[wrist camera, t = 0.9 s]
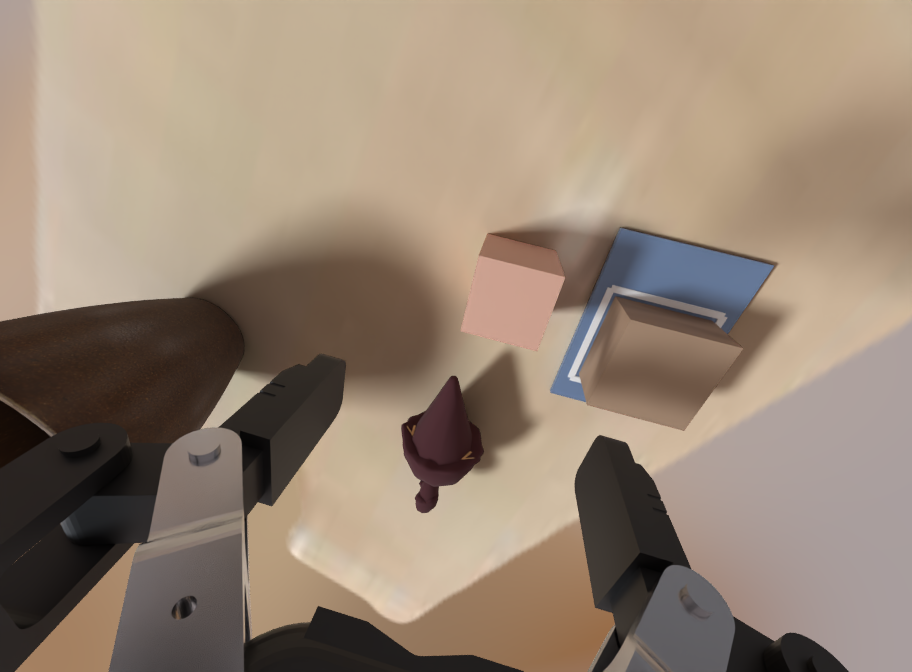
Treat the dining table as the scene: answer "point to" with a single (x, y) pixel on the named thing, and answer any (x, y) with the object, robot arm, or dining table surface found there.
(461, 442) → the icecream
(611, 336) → the walnut base
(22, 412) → the plant pot
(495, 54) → the dining table surface
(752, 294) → the blueprint mat
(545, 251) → the terracotta block
